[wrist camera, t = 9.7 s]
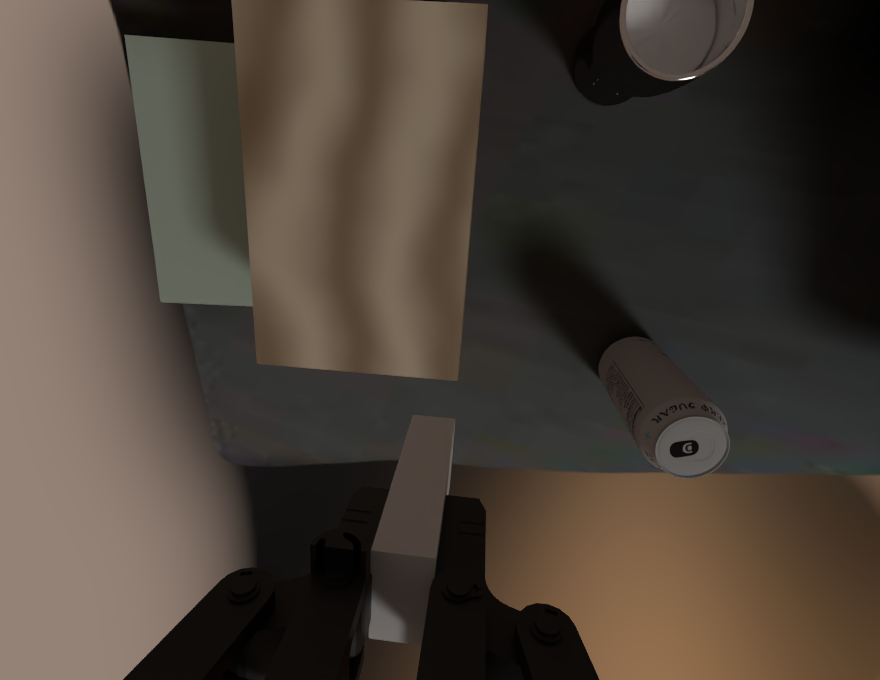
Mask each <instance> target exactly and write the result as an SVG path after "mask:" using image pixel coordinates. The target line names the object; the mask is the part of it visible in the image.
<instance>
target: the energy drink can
mask: <svg viewBox="0 0 880 680" xmlns="http://www.w3.org/2000/svg"><path fill="white" fill-rule="evenodd" d="M599 376H600V379H601V381H602V383H603V385H604V387H605V388H606V390H607V392H608V394H609V395H610V397H611V399H612V401H613V403H614V404H615V406H616V408H617V410H618V411H619V413H620V415H621V417H622V419H623V420H624V422H625V424H626V426H627V427H628V429H629V431H630V433H631V435H632V436H633V438H634V440H635V442H636V444H637V445H638V447H639V449H640V451H641V452H642V454H643V456H644V457H645V458H646V459H647V460H648V461H649V462H650V463H651V464H653V465H654V466H656V467H658V468H660V469H663V470H664V471H665V472H667V473H668V474H670V475H673V476H675V477H679V478H685V479H689V478H690V479H691V478H698V477H702V476H705V475H707V474H709V473H711V472H713V471H714V470H716V469H717V468H718V467H719V466H720V465H721V464H722V463H723V462H724V461H725V459H726V457H727V455H728V452H729V449H730V440H729V435H728V433H727V430H728V428H727V422H726V419H725V417H724V415H723V413H722V412H721V411H720V409H719V408H718V407H717V406H716V405H715V404H714V403H713V402H712V401H711V400H710V399H709V398H708V397H707V396H706V395H705V394H704V393H703V392H702V391H701V390H700V389H699V387H698V386H697V385H696V384H695V383H694V382H693V381H692V380H691V379H690V378H689V377H688V376H687V375H686V374H685V373H684V372H683V371H682V370H681V369H680V368H679V367H678V366H677V365H676V364H675V363H674V362H673V361H672V360H671V359H670V358H669V357H668V356H667V355H666V354H665V353H664V352H663V351H662V350H661V349H660V347H659V346H658V345H656V344H655V343H654V342H653V341H651V340H649V339H646V338H642V337H627V338H624V339H621V340H618V341H616V342H615V343H613V344H612V345H610V346H609V347H608V348H607V349H606V350H605V352H604V353H603V355H602V357H601V359H600V362H599Z"/></svg>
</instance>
